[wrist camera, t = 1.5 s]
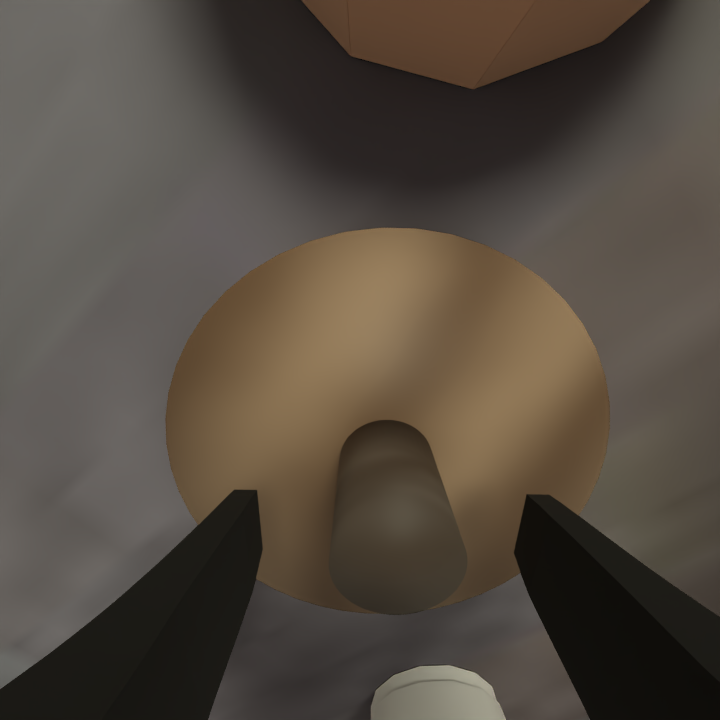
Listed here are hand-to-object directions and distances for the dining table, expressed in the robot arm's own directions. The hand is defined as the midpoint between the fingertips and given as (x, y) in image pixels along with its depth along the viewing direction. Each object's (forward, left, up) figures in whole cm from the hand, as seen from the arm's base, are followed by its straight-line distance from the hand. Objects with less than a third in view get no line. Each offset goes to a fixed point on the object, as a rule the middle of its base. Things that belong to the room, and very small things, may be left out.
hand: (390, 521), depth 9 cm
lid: (0, 0, -4) cm, 4 cm away
